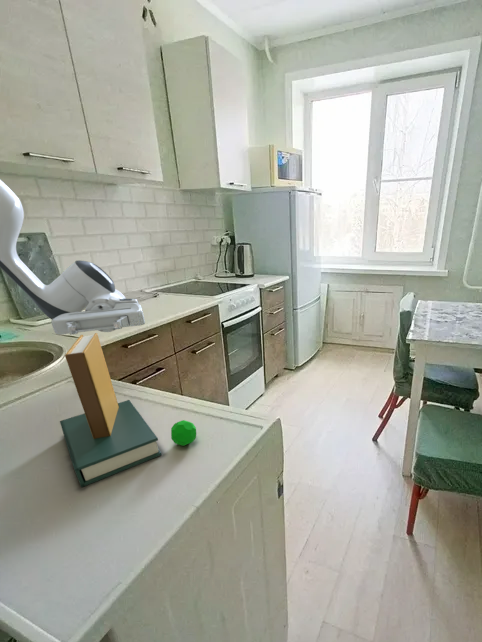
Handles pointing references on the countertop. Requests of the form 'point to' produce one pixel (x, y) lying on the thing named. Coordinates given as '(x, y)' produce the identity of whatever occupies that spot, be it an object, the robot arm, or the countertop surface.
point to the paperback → (93, 384)
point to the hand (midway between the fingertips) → (95, 328)
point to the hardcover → (109, 445)
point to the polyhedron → (183, 432)
